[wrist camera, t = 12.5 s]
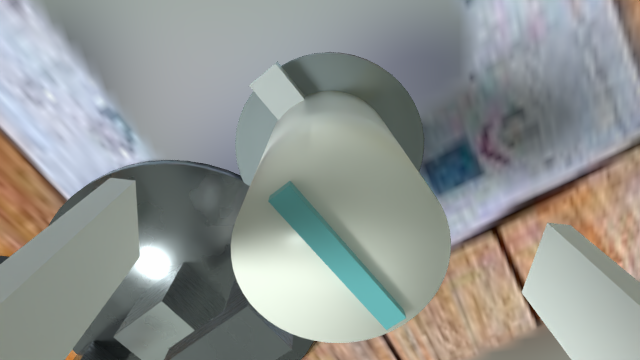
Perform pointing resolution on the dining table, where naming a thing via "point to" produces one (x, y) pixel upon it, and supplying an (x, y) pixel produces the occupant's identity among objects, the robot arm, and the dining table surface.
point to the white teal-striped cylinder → (336, 221)
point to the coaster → (333, 76)
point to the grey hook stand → (182, 275)
